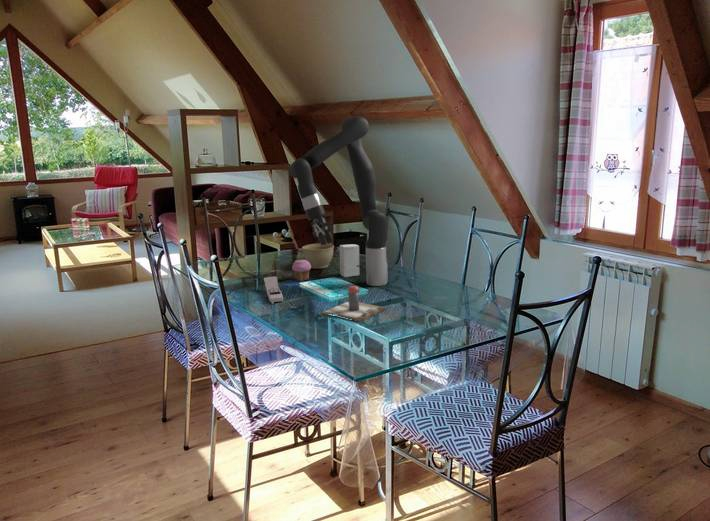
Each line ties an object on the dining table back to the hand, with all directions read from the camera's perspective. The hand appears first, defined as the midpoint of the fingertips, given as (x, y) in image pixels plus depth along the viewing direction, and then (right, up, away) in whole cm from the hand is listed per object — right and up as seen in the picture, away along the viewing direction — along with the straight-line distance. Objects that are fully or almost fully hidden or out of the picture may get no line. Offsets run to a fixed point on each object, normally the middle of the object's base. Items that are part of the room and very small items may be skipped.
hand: (326, 243), depth 243 cm
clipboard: (+11, -27, -12) cm, 32 cm away
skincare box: (+9, -14, +43) cm, 47 cm away
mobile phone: (-23, -23, +13) cm, 35 cm away
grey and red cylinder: (+11, -26, -12) cm, 31 cm away
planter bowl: (-7, -10, +61) cm, 63 cm away
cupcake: (-13, -16, +37) cm, 43 cm away
